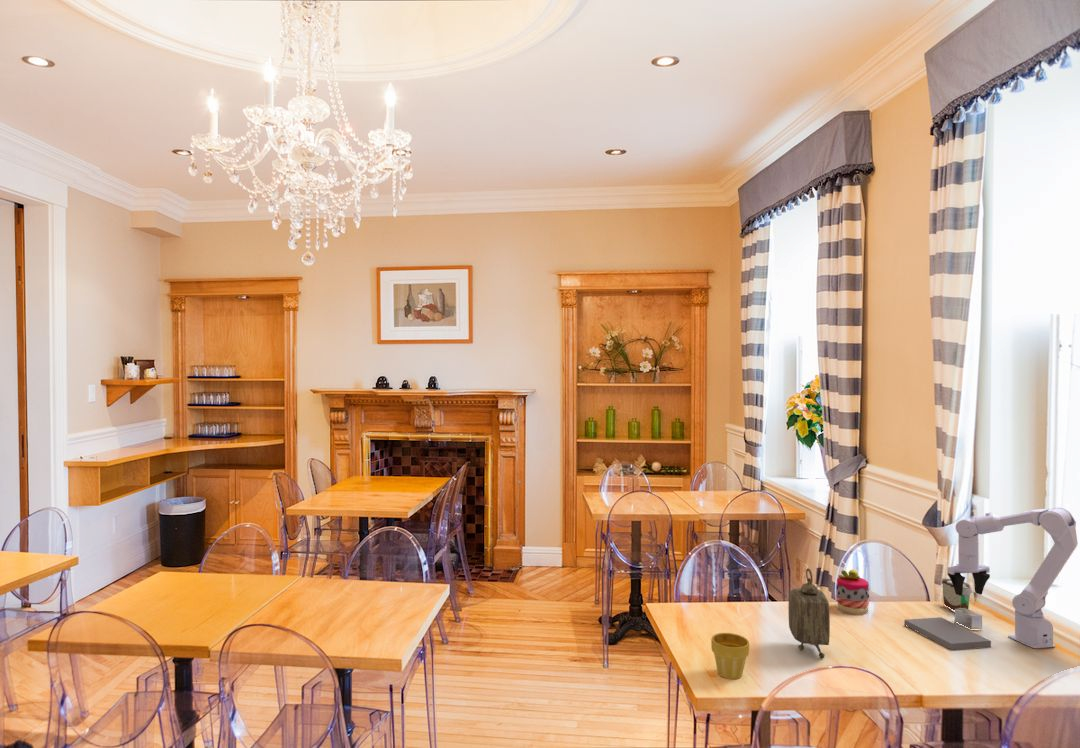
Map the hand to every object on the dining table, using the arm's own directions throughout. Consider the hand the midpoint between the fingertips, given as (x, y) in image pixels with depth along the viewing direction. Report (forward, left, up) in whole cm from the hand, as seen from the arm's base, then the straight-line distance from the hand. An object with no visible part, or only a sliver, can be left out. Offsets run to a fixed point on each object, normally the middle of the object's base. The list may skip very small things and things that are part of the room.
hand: (968, 594), depth 219 cm
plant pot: (-21, +97, -11) cm, 100 cm away
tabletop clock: (-10, +66, -11) cm, 68 cm away
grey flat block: (-7, +15, -10) cm, 20 cm away
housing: (-1, +1, -10) cm, 11 cm away
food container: (+12, -8, -11) cm, 18 cm away
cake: (+19, +30, -11) cm, 37 cm away
